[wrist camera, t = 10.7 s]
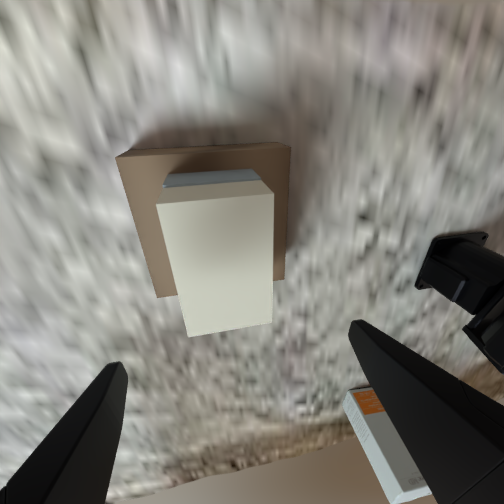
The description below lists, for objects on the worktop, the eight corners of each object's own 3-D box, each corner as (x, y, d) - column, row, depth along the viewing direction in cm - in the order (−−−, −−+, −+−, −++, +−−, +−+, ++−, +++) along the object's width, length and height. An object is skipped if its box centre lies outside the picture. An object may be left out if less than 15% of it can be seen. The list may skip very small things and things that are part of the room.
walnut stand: (276, 142, 17) (290, 147, 15) (274, 260, 22) (284, 279, 20) (128, 150, 16) (115, 157, 13) (162, 275, 21) (157, 298, 18)
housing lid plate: (261, 179, 13) (274, 193, 11) (262, 295, 17) (271, 322, 15) (163, 188, 12) (155, 204, 10) (189, 307, 16) (188, 337, 14)
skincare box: (381, 383, 38) (447, 481, 28) (372, 399, 40) (431, 495, 30) (347, 389, 37) (404, 493, 27) (340, 404, 39) (390, 507, 29)
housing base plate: (251, 168, 15) (260, 177, 13) (254, 274, 19) (261, 294, 17) (167, 174, 14) (162, 185, 12) (189, 283, 18) (188, 306, 16)
